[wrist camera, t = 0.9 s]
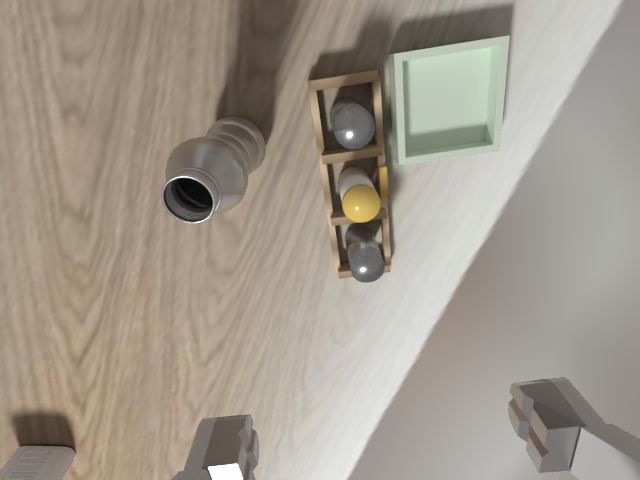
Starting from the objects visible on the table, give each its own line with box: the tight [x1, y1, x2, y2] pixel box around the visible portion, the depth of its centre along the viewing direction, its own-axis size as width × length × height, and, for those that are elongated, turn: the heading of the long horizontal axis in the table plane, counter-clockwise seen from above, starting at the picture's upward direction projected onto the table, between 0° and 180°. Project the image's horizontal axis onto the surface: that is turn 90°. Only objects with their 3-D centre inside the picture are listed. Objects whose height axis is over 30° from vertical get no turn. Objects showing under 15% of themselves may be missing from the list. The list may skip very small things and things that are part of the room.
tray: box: [388, 35, 510, 165], centre depth 40 cm, size 12×12×3 cm
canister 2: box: [345, 225, 385, 282], centre depth 45 cm, size 4×4×8 cm
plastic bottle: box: [161, 117, 266, 224], centre depth 33 cm, size 6×7×20 cm
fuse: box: [338, 167, 381, 222], centre depth 41 cm, size 4×4×8 cm
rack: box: [308, 69, 392, 279], centre depth 44 cm, size 25×8×2 cm, turn 8°
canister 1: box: [330, 99, 375, 149], centre depth 38 cm, size 4×4×8 cm
